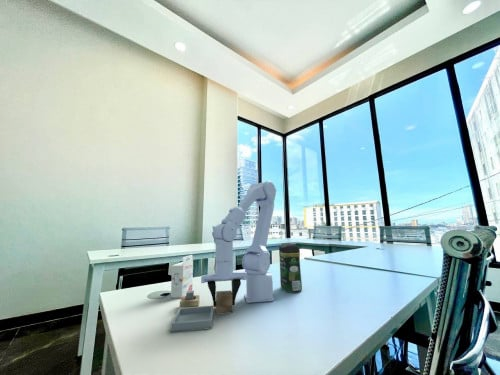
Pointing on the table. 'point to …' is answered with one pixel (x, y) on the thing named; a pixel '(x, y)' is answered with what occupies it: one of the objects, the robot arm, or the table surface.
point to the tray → (193, 319)
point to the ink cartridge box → (182, 277)
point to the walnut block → (223, 302)
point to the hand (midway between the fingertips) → (223, 305)
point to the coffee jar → (290, 267)
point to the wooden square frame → (189, 302)
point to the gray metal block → (190, 295)
